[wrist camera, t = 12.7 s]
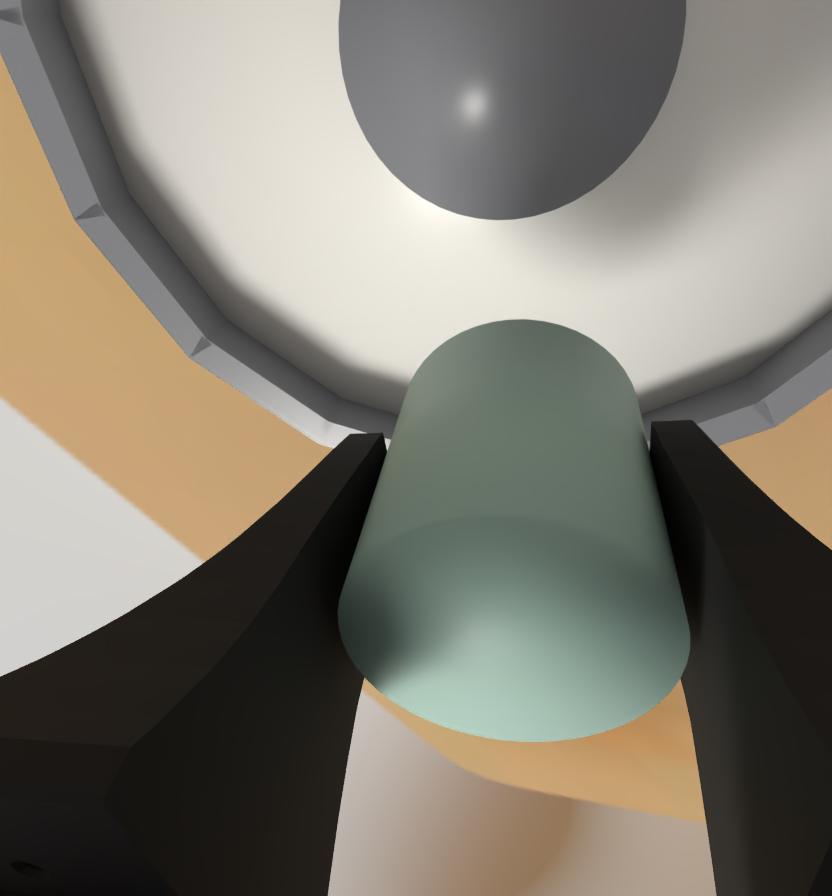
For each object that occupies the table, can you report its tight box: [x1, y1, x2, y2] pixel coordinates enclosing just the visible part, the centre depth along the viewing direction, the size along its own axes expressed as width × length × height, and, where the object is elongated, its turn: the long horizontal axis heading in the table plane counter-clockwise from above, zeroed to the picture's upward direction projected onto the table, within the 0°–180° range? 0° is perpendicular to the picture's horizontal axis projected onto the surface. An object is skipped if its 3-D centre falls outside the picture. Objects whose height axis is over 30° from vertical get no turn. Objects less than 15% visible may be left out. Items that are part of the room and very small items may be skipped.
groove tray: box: [0, 0, 832, 451], centre depth 12 cm, size 20×20×2 cm
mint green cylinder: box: [338, 319, 690, 742], centre depth 10 cm, size 4×4×5 cm
